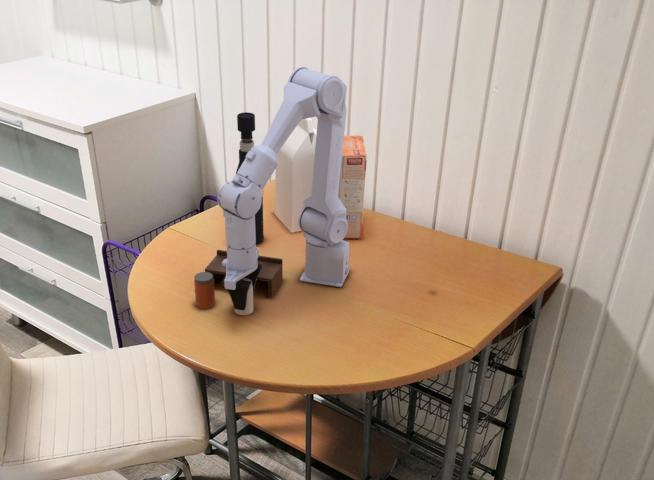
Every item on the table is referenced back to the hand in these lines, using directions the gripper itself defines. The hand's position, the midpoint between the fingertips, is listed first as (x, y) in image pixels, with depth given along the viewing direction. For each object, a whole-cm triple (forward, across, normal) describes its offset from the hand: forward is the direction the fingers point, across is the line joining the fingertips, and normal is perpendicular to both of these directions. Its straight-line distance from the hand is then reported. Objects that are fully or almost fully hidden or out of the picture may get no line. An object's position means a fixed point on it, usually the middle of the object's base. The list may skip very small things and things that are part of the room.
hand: (243, 303), depth 151 cm
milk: (+2, -46, 0) cm, 46 cm away
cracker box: (+2, -44, +12) cm, 46 cm away
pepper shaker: (+2, 0, -8) cm, 9 cm away
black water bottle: (+2, -30, -10) cm, 32 cm away
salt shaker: (+2, 0, 0) cm, 2 cm away
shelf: (+2, -10, -4) cm, 11 cm away
